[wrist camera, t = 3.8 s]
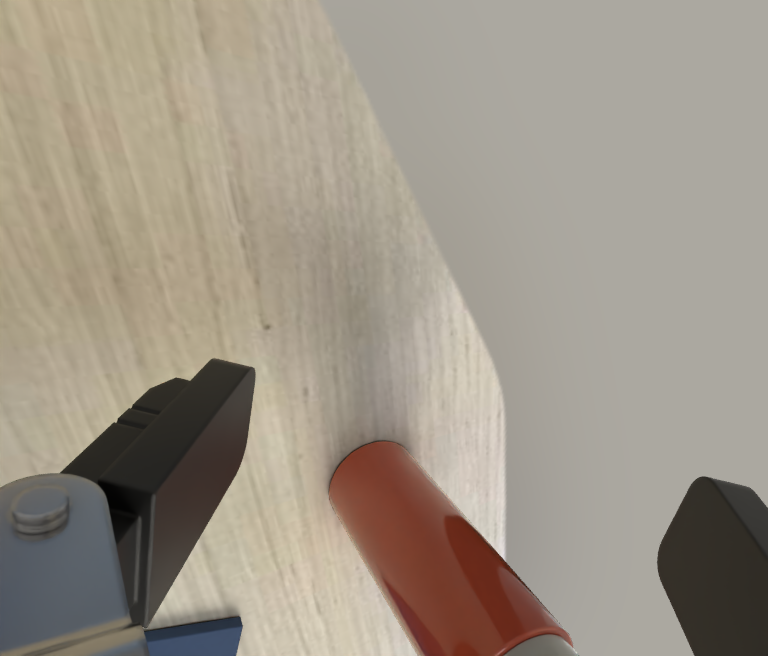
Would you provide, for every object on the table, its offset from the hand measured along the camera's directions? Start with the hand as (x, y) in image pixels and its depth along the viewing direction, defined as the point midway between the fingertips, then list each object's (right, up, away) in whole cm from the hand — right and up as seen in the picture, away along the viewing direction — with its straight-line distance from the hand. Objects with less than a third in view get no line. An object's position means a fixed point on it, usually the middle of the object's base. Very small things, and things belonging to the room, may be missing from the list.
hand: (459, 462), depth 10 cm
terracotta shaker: (-2, -5, +16) cm, 17 cm away
